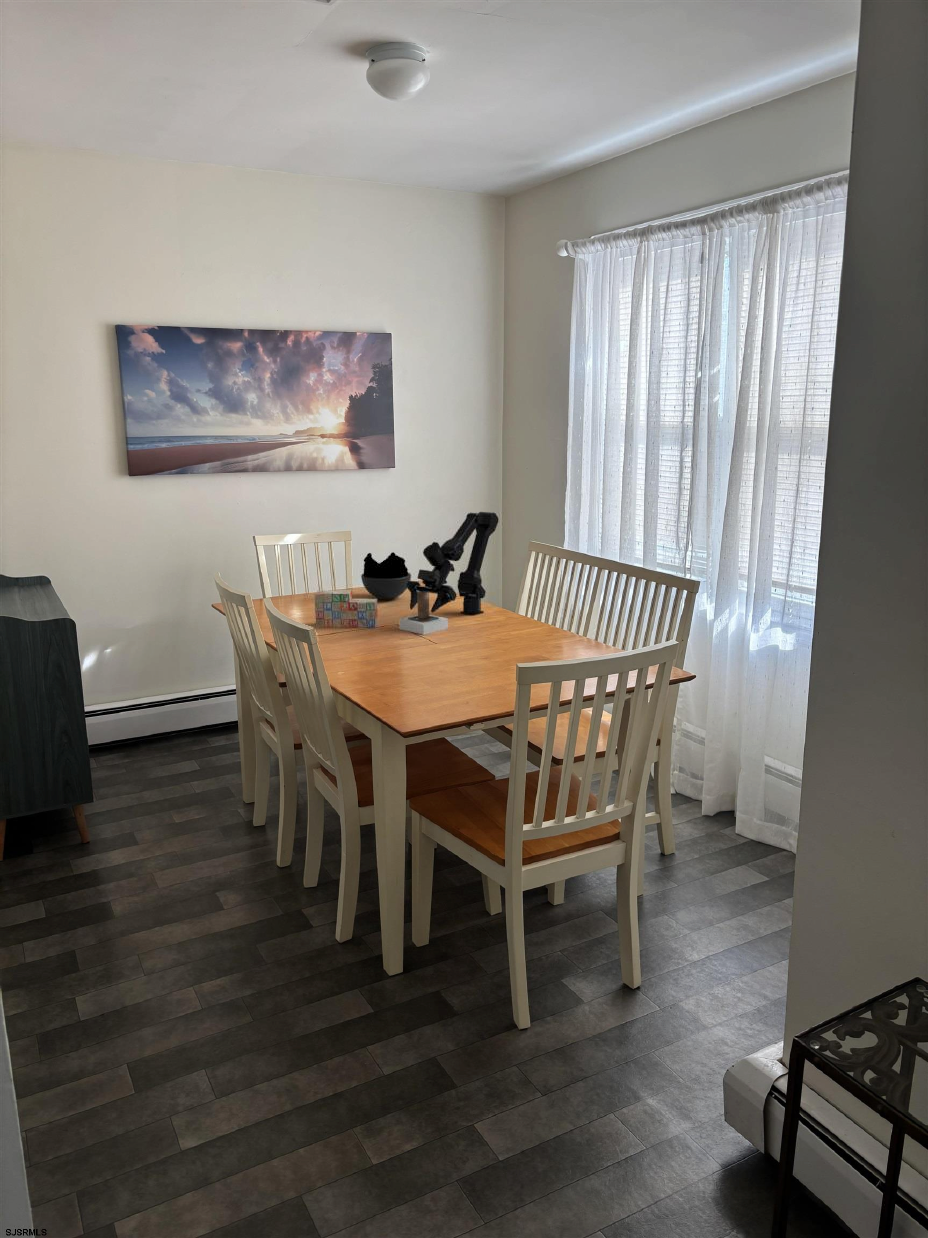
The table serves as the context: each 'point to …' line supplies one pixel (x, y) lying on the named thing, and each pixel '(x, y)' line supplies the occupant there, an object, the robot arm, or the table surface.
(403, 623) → the socket block
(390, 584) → the coal bowl
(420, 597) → the walnut peg
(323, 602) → the stack of blocks
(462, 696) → the table surface
